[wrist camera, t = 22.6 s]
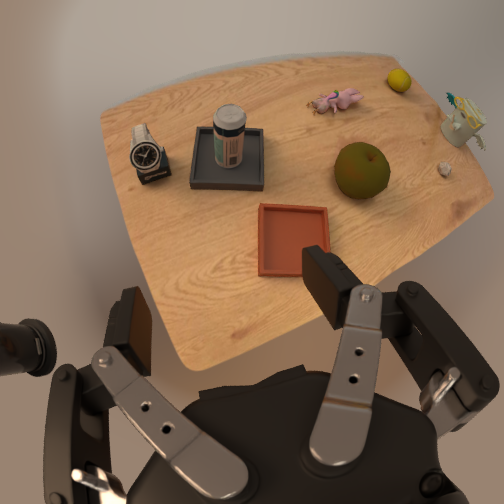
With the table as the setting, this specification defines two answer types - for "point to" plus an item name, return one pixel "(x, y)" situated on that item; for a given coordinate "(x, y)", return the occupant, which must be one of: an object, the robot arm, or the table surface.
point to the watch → (147, 156)
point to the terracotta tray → (289, 237)
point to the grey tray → (221, 178)
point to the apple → (361, 170)
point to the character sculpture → (463, 122)
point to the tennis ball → (399, 80)
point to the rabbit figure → (336, 100)
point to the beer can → (229, 135)
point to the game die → (444, 168)
